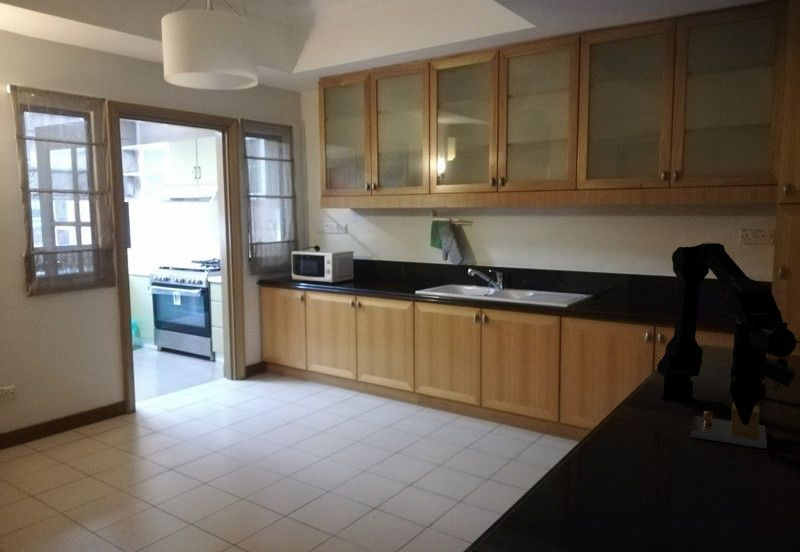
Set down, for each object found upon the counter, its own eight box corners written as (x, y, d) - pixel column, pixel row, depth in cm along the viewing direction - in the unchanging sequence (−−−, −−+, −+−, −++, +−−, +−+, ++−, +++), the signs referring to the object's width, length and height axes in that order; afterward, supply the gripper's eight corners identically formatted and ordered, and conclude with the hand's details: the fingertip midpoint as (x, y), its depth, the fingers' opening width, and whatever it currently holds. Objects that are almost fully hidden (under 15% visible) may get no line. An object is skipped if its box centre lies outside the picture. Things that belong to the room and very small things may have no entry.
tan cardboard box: (731, 432, 130) (732, 409, 129) (731, 424, 134) (732, 402, 134) (758, 436, 128) (759, 412, 127) (757, 428, 132) (758, 406, 131)
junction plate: (690, 437, 131) (691, 416, 131) (693, 422, 141) (694, 403, 140) (766, 449, 124) (767, 427, 124) (764, 432, 134) (765, 412, 134)
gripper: (798, 359, 117) (793, 438, 119) (790, 341, 133) (786, 411, 135) (732, 353, 122) (728, 429, 124) (732, 337, 139) (729, 404, 140)
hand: (744, 417), depth 131 cm, fingers open, 9 cm apart
